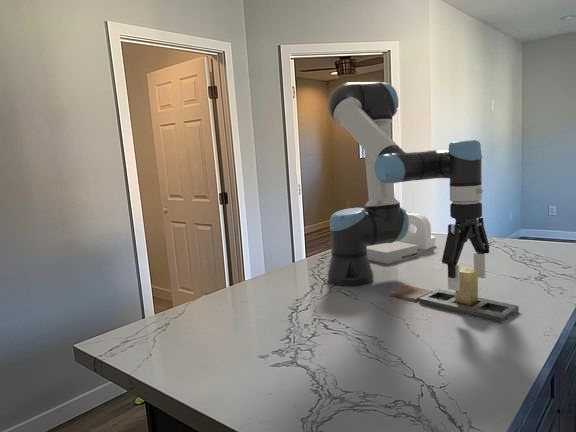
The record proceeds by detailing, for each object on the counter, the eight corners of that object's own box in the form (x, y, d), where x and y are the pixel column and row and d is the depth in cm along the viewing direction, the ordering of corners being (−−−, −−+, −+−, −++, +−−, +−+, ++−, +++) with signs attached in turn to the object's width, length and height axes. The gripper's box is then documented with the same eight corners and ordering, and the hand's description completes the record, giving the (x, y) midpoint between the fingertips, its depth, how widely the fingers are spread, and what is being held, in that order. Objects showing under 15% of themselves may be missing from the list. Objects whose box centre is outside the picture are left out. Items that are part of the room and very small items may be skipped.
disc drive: (378, 248, 192) (377, 237, 191) (418, 256, 173) (418, 244, 172) (346, 255, 182) (346, 243, 182) (386, 265, 163) (385, 252, 163)
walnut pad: (388, 295, 129) (388, 292, 129) (406, 287, 135) (406, 285, 134) (415, 301, 122) (415, 299, 122) (433, 293, 128) (433, 290, 128)
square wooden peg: (455, 307, 116) (455, 271, 114) (463, 303, 118) (462, 267, 117) (470, 311, 113) (470, 273, 111) (477, 307, 115) (477, 270, 114)
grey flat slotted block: (419, 303, 121) (419, 298, 120) (438, 294, 127) (438, 289, 127) (501, 323, 104) (501, 317, 104) (518, 311, 110) (518, 305, 110)
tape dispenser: (425, 249, 181) (424, 216, 179) (388, 245, 195) (387, 213, 193) (440, 244, 189) (439, 212, 187) (404, 240, 202) (403, 209, 200)
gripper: (454, 208, 101) (456, 298, 103) (502, 197, 117) (503, 274, 119) (425, 207, 106) (428, 292, 109) (475, 196, 122) (476, 270, 125)
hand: (467, 283), depth 114 cm, fingers open, 13 cm apart
